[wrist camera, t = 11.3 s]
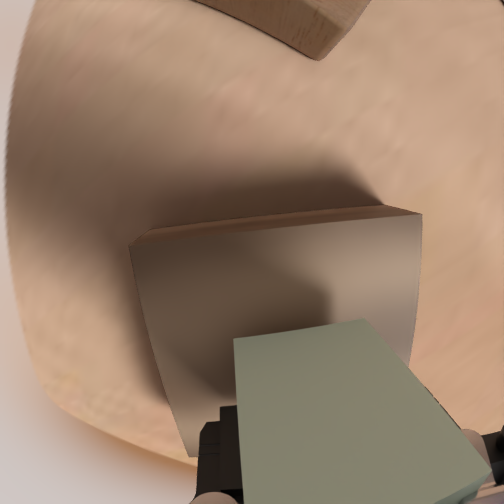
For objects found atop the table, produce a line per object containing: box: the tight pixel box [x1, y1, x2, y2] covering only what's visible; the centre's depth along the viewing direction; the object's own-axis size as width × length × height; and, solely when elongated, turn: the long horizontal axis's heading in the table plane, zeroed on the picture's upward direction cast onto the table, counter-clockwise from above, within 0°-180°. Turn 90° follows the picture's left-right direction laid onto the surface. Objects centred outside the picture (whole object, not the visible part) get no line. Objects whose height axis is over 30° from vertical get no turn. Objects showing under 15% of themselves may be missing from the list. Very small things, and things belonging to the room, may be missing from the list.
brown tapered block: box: [129, 205, 422, 457], centre depth 15 cm, size 12×12×4 cm
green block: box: [233, 318, 492, 504], centre depth 8 cm, size 5×5×8 cm
